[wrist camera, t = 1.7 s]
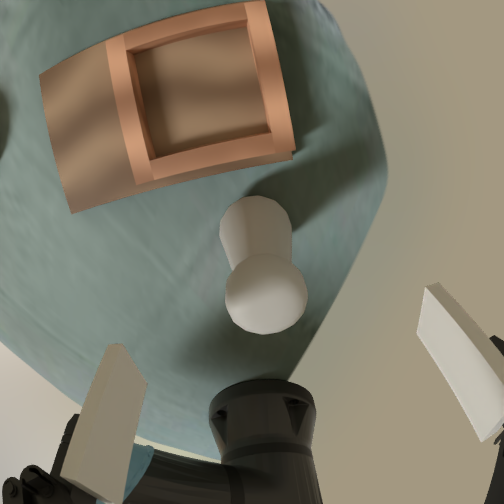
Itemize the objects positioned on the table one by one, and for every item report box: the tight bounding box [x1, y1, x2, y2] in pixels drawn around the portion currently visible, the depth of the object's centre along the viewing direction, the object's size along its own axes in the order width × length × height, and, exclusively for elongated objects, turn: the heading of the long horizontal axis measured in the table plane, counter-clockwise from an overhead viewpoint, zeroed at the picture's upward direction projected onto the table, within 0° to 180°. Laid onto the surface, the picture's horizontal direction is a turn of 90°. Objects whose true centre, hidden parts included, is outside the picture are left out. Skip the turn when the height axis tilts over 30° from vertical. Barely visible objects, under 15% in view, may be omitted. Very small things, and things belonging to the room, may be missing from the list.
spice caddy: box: [39, 0, 296, 214], centre depth 19 cm, size 14×20×4 cm
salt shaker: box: [219, 195, 308, 335], centre depth 20 cm, size 6×6×13 cm
